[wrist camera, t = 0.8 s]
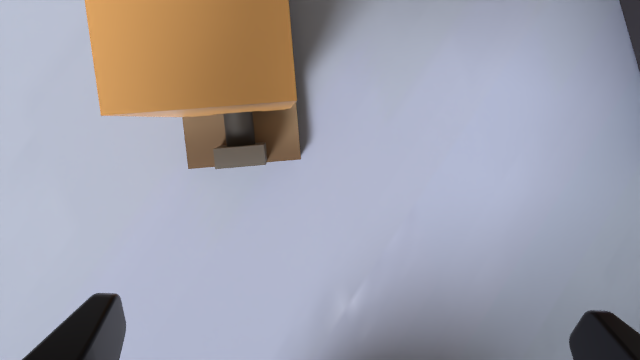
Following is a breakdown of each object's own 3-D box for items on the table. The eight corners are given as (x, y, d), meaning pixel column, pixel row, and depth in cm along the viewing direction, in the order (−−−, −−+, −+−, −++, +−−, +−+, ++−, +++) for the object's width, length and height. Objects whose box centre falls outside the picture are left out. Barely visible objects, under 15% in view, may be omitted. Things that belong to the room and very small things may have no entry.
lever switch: (300, 157, 22) (304, 167, 17) (192, 166, 22) (168, 179, 17) (276, -116, 20) (275, -184, 16) (160, -111, 20) (124, -179, 15)
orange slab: (290, 109, 20) (297, 100, 11) (187, 117, 20) (101, 115, 10) (285, 50, 20) (287, -13, 10) (180, 57, 19) (84, -1, 10)
